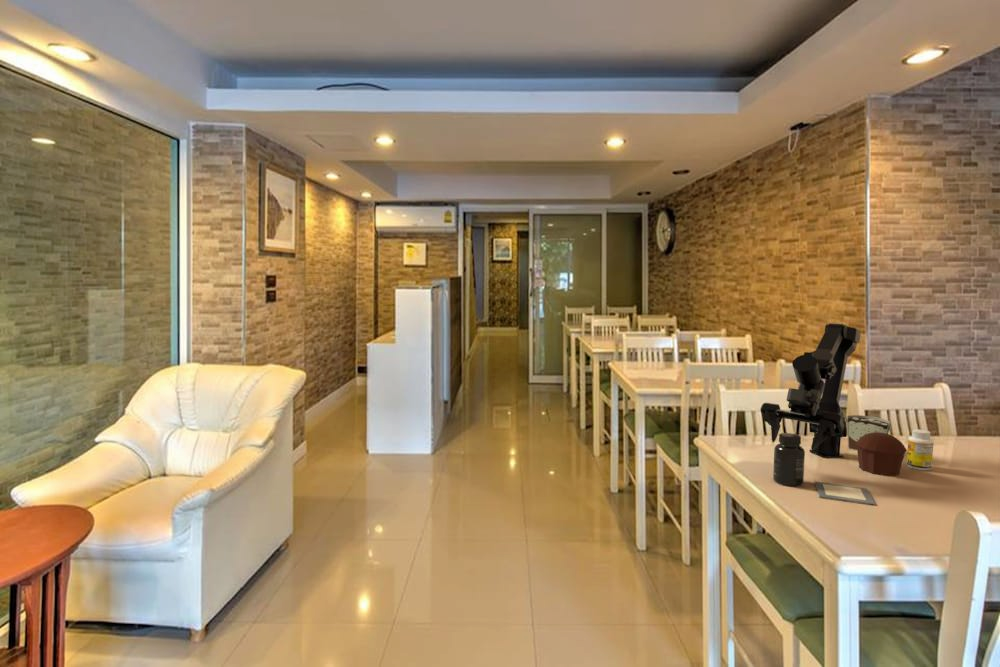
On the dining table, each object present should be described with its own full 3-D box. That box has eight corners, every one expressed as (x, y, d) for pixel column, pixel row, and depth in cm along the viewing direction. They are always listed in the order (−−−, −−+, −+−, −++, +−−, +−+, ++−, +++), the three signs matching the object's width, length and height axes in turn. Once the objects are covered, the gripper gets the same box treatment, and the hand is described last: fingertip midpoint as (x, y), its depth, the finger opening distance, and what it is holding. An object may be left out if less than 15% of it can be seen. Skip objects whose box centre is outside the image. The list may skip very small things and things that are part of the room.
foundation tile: (814, 482, 144) (815, 481, 144) (866, 489, 140) (866, 487, 140) (819, 497, 134) (819, 495, 134) (875, 505, 130) (875, 503, 130)
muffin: (844, 464, 160) (846, 428, 159) (881, 463, 161) (884, 428, 160) (875, 478, 148) (878, 440, 148) (916, 477, 149) (919, 439, 149)
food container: (897, 454, 170) (900, 421, 169) (888, 458, 167) (890, 423, 166) (852, 444, 180) (855, 413, 179) (843, 447, 177) (845, 415, 176)
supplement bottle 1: (796, 478, 147) (799, 432, 146) (808, 487, 141) (811, 439, 140) (768, 477, 148) (771, 431, 147) (778, 486, 141) (781, 438, 140)
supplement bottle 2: (907, 463, 162) (910, 427, 161) (931, 467, 158) (934, 430, 157) (905, 468, 157) (908, 431, 156) (930, 472, 154) (933, 434, 153)
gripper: (765, 372, 154) (746, 419, 147) (844, 381, 141) (828, 433, 134) (773, 398, 160) (756, 444, 153) (850, 408, 147) (835, 460, 140)
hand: (792, 444), depth 145 cm, fingers open, 9 cm apart
